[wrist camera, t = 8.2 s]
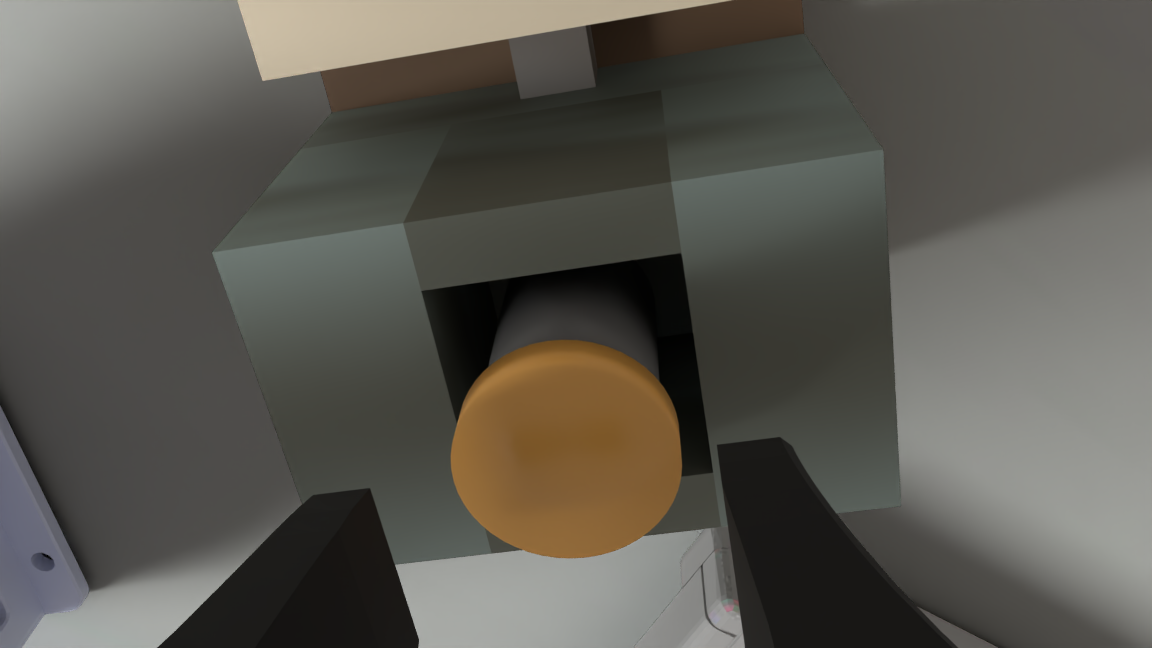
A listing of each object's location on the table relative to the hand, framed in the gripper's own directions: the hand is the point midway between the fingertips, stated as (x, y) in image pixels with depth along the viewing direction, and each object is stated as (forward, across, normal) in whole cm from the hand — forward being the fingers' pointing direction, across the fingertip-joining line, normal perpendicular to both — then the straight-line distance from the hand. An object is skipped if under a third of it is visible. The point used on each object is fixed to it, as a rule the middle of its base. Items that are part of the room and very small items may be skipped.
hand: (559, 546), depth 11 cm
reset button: (+5, 0, 0) cm, 5 cm away
